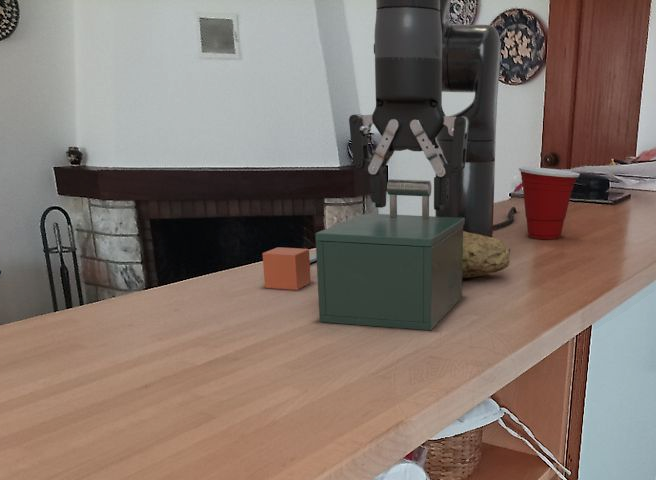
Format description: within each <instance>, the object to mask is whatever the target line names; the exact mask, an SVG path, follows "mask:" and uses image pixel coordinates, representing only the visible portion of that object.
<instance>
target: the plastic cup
mask: <svg viewBox="0 0 656 480" xmlns="http://www.w3.org/2000/svg"><path fill="white" fill-rule="evenodd" d="M518 171H519V172H520V175H521V182H522V183H521V184H522V186H521V187H522V188H523V189H522V191H523V203H524V212H525V213H524V214H525V219H526V226H527V233H528V237H529V238H532V239H539V240H557V239H560V238H561V235H562V232H563V227H564V223H565V219H566V216H567V212H568V208H569V204H570V201H571V197H572V191H573V190H574V186H575V184H576V181H577V179H578V178H579V177H580V174H581V173H579V172H575V171H569V170H562V169H555V168H547V167H546V168H545V167H537V166H536V167H535V166H533V167H532V166H520V167H518Z"/></svg>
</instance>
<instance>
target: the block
mask: <svg viewBox="0 0 656 480" xmlns="http://www.w3.org/2000/svg"><path fill="white" fill-rule="evenodd" d="M309 255H310V249H309V248H299V247H298V248H297V247H281V246H280V247H275V248H273V249H269V250H267V251H264V252H262V263H263V264H262V267H263V268H262V269H263V278H264V279H263V280H264V281H263V282H264V288H265V289H274V290H275V289H276V290H288V291H289V290H290V291H299V290H301V289H302V288H304V287H306V286H307V285H309V284H311V283H312V281H311V263H310V257H309Z"/></svg>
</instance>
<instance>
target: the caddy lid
mask: <svg viewBox="0 0 656 480" xmlns="http://www.w3.org/2000/svg"><path fill="white" fill-rule="evenodd" d="M432 190H433V188H432V182H431V180H422V179H394V178H393V179H391V178H389V179H388V180H387V181H386V193H387V194H388V195H389V214H388V213H370V212H369V213H367V212H366V213H363V214H360V215H359V216H356V217H353V218H351V219H348V220H345V221H343V222H340V223H338V224H336V225H333V226H330V227H328V228H326V229H322V230H320V231H318V232H315V242H316V241H332V242H350V243H369V244H387V245H406V246H424V247H431V246H433V245H434V244H436V243H437V242H439V241H440V240H442V239H443V238H445V237H446V236H448V235H449V234H451V233H452V232H454V231H455V230H457V229H458V228H460V227H461V226H463V225H464V224H465V218H456V217H435V216H434V215H433V216H432V215H430V197H431V195H432ZM398 196H403V197H404V196H408V197H409V196H410V197H421V211H422V212H421V215H414V214H413V215H411V214H409V215H408V214H398Z"/></svg>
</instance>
